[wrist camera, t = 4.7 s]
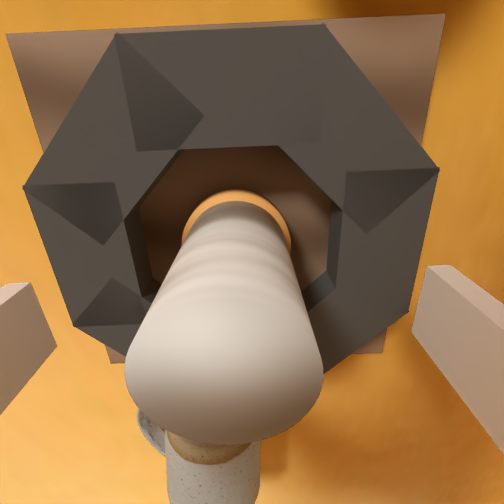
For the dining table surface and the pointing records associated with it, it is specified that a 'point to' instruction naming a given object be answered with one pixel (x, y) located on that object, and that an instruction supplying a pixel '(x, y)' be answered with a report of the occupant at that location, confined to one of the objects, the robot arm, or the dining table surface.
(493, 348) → the robot arm
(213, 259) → the pipe stand
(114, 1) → the dining table surface
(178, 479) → the ceramic mug
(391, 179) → the ring
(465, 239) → the dining table surface
